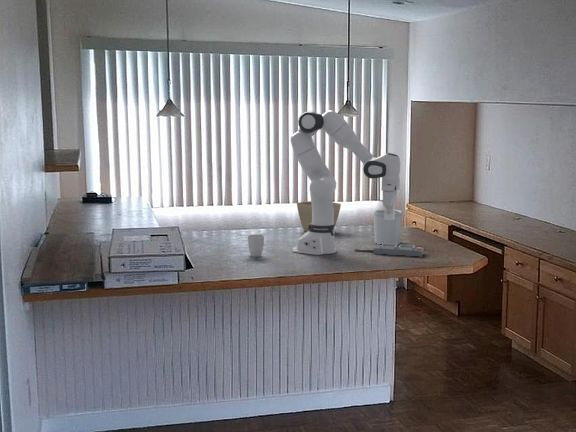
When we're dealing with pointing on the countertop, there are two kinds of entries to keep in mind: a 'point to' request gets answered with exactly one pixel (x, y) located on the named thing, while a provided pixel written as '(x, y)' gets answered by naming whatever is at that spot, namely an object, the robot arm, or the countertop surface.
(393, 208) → the charger
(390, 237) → the utensil holder
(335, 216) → the flower pot
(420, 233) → the countertop surface
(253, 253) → the cup
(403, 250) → the power strip
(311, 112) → the robot arm
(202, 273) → the countertop surface
